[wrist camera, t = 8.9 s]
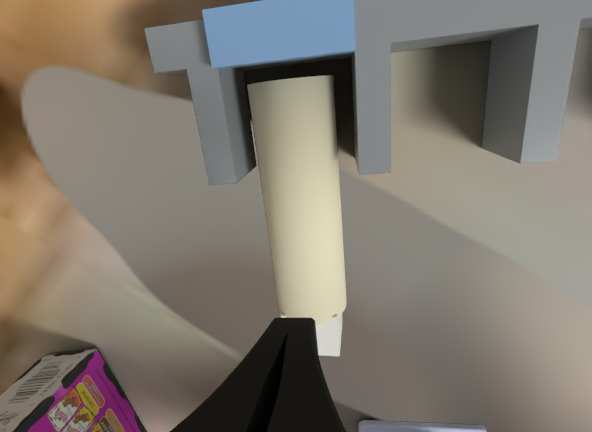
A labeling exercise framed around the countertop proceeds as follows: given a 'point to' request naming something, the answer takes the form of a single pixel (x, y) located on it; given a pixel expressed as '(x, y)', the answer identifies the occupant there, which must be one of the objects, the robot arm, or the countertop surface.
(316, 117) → the cream cylinder column
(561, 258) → the countertop surface
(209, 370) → the countertop surface
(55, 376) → the candy bar box
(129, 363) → the countertop surface
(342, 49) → the grey comb rack
